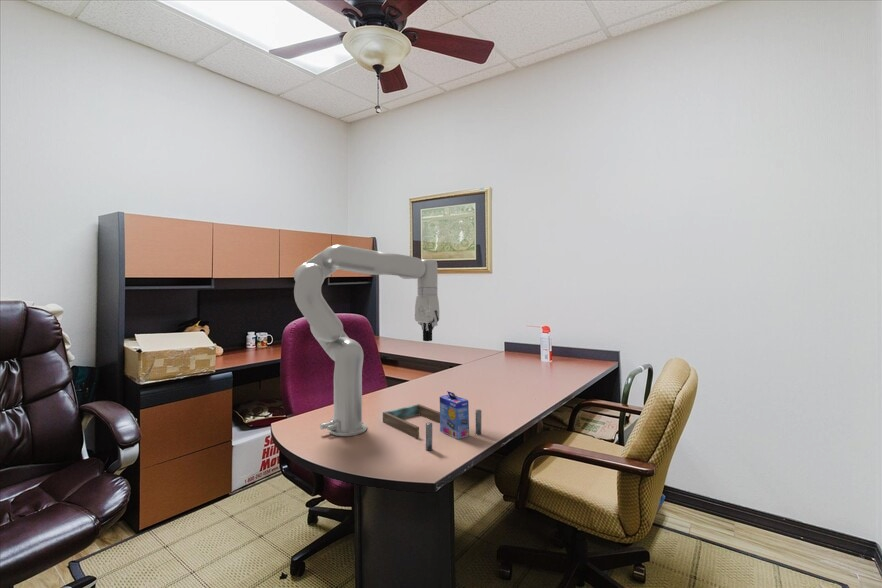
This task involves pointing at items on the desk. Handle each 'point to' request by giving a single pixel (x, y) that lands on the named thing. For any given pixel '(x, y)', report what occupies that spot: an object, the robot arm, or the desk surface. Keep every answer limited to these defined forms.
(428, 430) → the post left
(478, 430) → the post right
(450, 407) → the ink cartridge box
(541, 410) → the desk surface
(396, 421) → the channel
